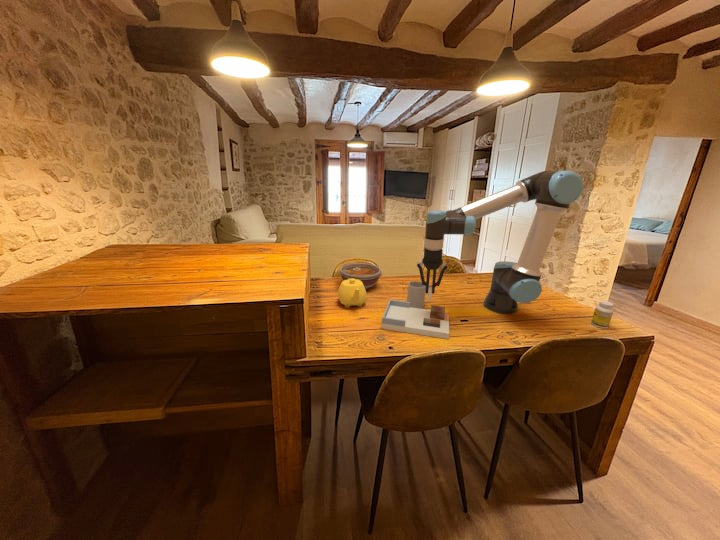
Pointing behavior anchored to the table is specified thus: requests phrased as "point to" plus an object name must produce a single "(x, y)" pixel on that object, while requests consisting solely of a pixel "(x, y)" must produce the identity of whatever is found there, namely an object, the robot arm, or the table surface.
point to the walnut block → (437, 312)
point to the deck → (414, 320)
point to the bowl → (361, 273)
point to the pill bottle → (602, 314)
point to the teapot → (352, 293)
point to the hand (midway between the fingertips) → (429, 299)
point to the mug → (416, 294)
